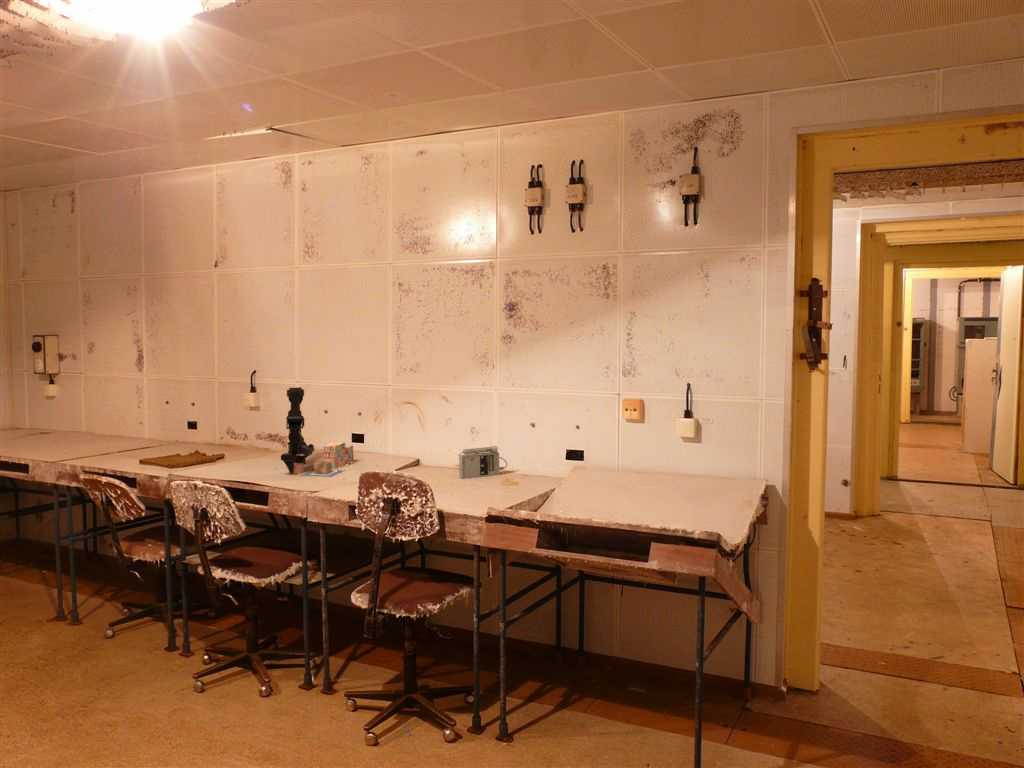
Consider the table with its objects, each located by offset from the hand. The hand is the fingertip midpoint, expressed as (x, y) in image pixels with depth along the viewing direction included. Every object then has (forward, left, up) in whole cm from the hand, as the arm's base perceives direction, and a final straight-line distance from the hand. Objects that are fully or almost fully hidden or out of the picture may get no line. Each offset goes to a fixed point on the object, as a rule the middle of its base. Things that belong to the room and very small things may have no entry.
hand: (296, 471), depth 380 cm
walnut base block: (+13, +2, 0) cm, 13 cm away
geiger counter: (+89, +14, -1) cm, 90 cm away
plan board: (+13, +2, -1) cm, 13 cm away
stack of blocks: (+12, +22, -1) cm, 25 cm away
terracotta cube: (0, 0, -1) cm, 1 cm away
